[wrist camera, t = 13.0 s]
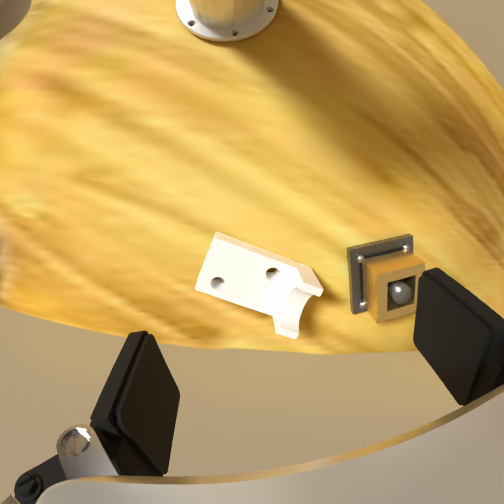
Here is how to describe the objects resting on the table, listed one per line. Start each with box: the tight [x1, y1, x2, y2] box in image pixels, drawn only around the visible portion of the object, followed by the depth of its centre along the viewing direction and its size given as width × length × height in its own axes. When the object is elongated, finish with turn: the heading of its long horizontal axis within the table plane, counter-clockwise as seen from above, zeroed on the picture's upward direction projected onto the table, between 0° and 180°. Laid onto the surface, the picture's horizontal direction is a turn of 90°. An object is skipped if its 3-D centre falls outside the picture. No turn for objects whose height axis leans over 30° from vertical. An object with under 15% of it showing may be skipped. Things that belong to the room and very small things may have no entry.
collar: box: [362, 249, 425, 323], centre depth 37 cm, size 7×7×5 cm
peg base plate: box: [347, 234, 413, 314], centre depth 37 cm, size 10×10×7 cm
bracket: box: [195, 231, 323, 339], centre depth 36 cm, size 13×7×8 cm, turn 67°
